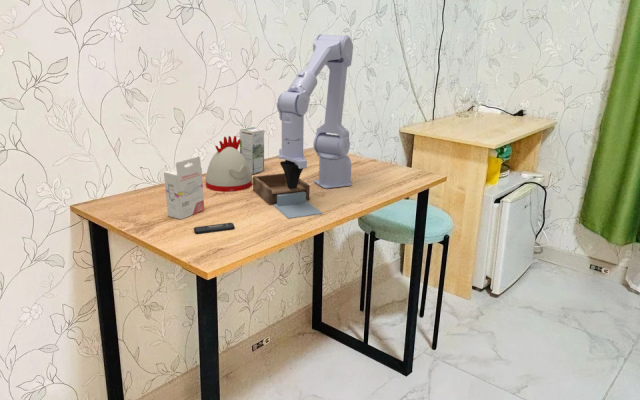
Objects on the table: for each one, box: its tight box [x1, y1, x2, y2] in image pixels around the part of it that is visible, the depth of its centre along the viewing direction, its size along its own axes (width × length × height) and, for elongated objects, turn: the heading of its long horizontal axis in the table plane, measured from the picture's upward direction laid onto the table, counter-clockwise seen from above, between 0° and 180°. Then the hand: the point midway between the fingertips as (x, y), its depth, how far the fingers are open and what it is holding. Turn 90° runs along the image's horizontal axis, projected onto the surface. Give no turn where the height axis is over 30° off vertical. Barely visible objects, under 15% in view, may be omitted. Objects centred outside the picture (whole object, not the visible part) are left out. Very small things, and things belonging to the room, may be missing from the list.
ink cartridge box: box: [163, 155, 205, 220], centre depth 132 cm, size 9×5×15 cm, turn 148°
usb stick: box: [193, 222, 235, 235], centre depth 124 cm, size 10×3×2 cm, turn 112°
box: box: [252, 172, 311, 206], centre depth 149 cm, size 14×12×4 cm
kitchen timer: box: [205, 135, 253, 193], centre depth 156 cm, size 14×14×15 cm
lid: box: [273, 192, 323, 220], centre depth 138 cm, size 11×10×4 cm
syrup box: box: [239, 126, 265, 176], centre depth 170 cm, size 6×6×14 cm
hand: (292, 187), depth 140 cm, fingers closed
